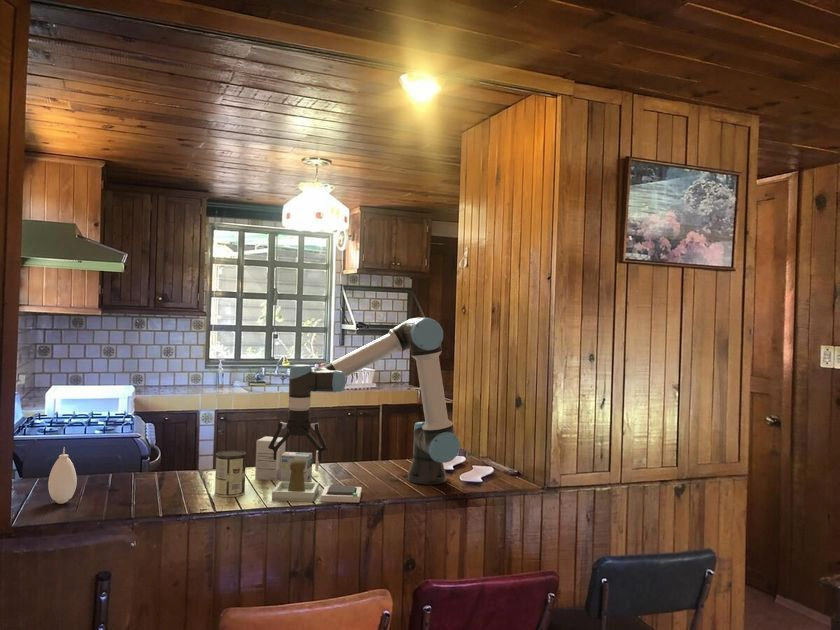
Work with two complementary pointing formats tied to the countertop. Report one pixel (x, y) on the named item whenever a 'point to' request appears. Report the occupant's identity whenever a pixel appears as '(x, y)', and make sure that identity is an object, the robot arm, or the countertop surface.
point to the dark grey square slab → (341, 490)
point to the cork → (297, 476)
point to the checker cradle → (341, 496)
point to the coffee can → (230, 473)
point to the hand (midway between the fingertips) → (297, 469)
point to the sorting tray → (295, 492)
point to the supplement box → (267, 459)
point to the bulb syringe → (62, 479)
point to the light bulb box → (295, 456)
